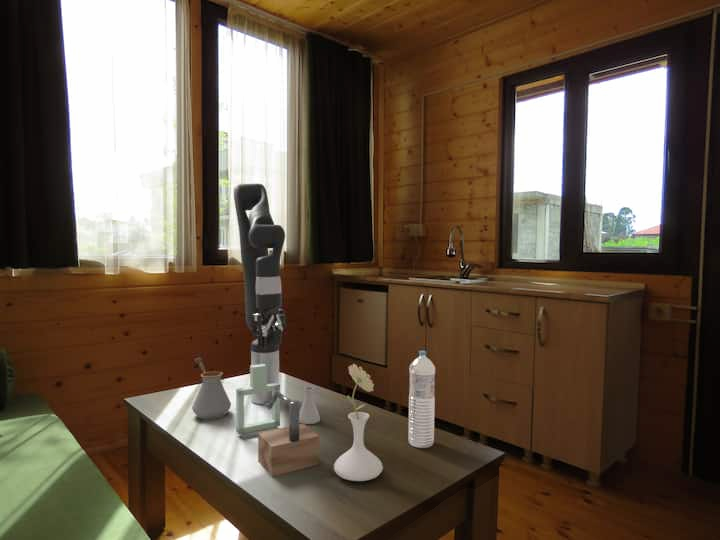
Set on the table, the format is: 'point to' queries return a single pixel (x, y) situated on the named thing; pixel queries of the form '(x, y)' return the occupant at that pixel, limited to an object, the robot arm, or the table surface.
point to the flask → (308, 408)
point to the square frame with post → (256, 386)
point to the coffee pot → (211, 396)
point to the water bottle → (421, 402)
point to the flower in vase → (358, 439)
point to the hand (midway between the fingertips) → (270, 346)
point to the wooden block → (287, 450)
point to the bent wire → (292, 414)
